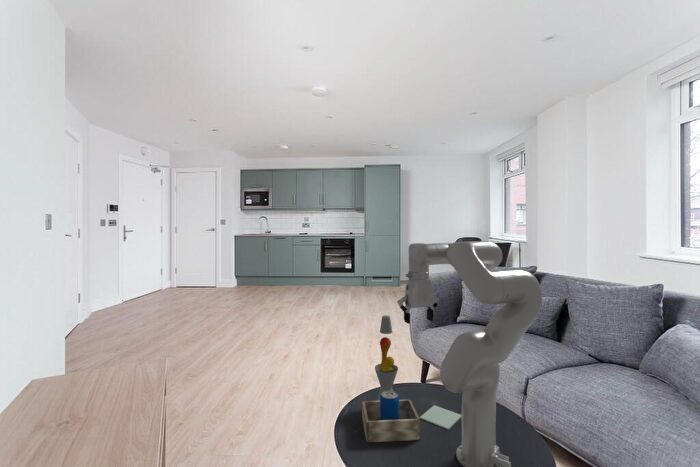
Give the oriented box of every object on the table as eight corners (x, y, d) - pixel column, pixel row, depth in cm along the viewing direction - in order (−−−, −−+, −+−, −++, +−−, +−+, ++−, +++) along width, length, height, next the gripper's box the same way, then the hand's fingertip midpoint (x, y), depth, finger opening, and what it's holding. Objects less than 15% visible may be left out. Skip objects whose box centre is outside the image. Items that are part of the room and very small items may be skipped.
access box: (410, 417, 127) (410, 399, 126) (420, 439, 113) (420, 419, 113) (362, 419, 125) (362, 401, 125) (366, 442, 112) (366, 422, 112)
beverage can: (398, 424, 122) (398, 390, 122) (399, 435, 116) (399, 399, 115) (380, 423, 123) (380, 389, 123) (380, 434, 116) (380, 398, 116)
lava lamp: (381, 414, 128) (381, 320, 128) (370, 403, 137) (370, 314, 136) (402, 409, 132) (402, 317, 131) (390, 398, 140) (390, 312, 140)
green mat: (461, 416, 127) (461, 415, 127) (448, 429, 118) (448, 428, 118) (434, 406, 134) (434, 405, 134) (419, 418, 126) (419, 417, 126)
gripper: (402, 278, 124) (402, 326, 125) (444, 276, 130) (444, 321, 130) (393, 276, 131) (393, 321, 132) (433, 273, 137) (433, 317, 137)
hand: (418, 321), depth 131 cm, fingers open, 9 cm apart
